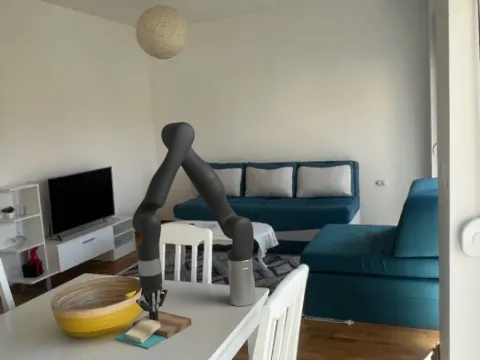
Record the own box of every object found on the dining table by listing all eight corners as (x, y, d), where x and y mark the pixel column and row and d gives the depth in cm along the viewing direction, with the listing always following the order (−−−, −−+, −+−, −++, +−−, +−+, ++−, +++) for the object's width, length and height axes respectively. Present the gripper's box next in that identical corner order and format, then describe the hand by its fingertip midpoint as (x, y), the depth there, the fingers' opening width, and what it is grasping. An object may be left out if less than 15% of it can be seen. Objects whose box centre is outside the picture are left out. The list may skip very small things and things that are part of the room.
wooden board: (157, 316, 175) (157, 310, 174) (191, 324, 166) (190, 318, 165) (133, 329, 165) (132, 322, 165) (167, 338, 156) (167, 332, 156)
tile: (145, 322, 163) (144, 317, 163) (160, 326, 159) (159, 321, 159) (126, 338, 156) (125, 333, 156) (142, 343, 152) (140, 338, 152)
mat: (133, 329, 164) (133, 328, 164) (165, 338, 156) (165, 337, 156) (115, 339, 158) (115, 337, 158) (148, 349, 149) (148, 347, 149)
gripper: (143, 279, 153) (148, 331, 155) (172, 267, 163) (175, 316, 165) (127, 275, 157) (131, 326, 159) (156, 264, 168) (159, 312, 170)
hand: (154, 321), depth 162 cm, fingers closed
